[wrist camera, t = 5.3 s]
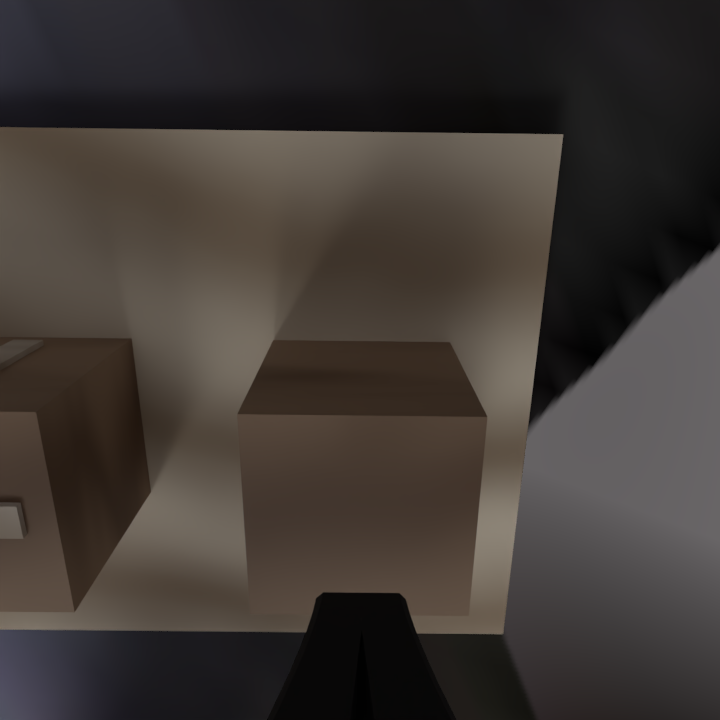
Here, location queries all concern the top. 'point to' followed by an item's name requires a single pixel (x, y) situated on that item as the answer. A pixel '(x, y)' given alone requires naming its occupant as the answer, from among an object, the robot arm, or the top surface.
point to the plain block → (361, 475)
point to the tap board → (272, 316)
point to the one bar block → (66, 465)
